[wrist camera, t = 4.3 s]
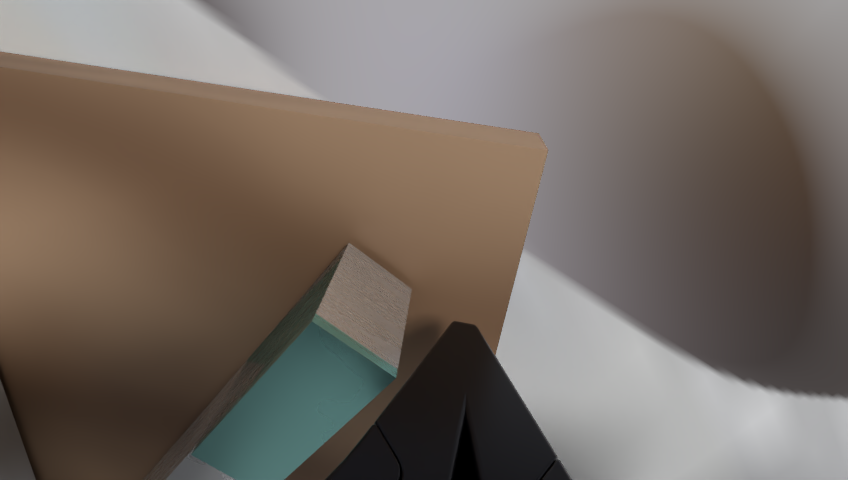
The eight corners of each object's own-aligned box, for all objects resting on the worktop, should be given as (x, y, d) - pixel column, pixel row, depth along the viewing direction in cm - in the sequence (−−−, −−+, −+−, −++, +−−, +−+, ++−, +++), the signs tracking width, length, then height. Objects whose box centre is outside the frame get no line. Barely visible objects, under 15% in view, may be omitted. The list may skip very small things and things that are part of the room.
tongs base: (421, 611, 18) (407, 827, 13) (-58, 536, 18) (-241, 725, 13) (538, 133, 10) (609, 258, 5) (-344, -1, 10) (-1084, -1, 5)
